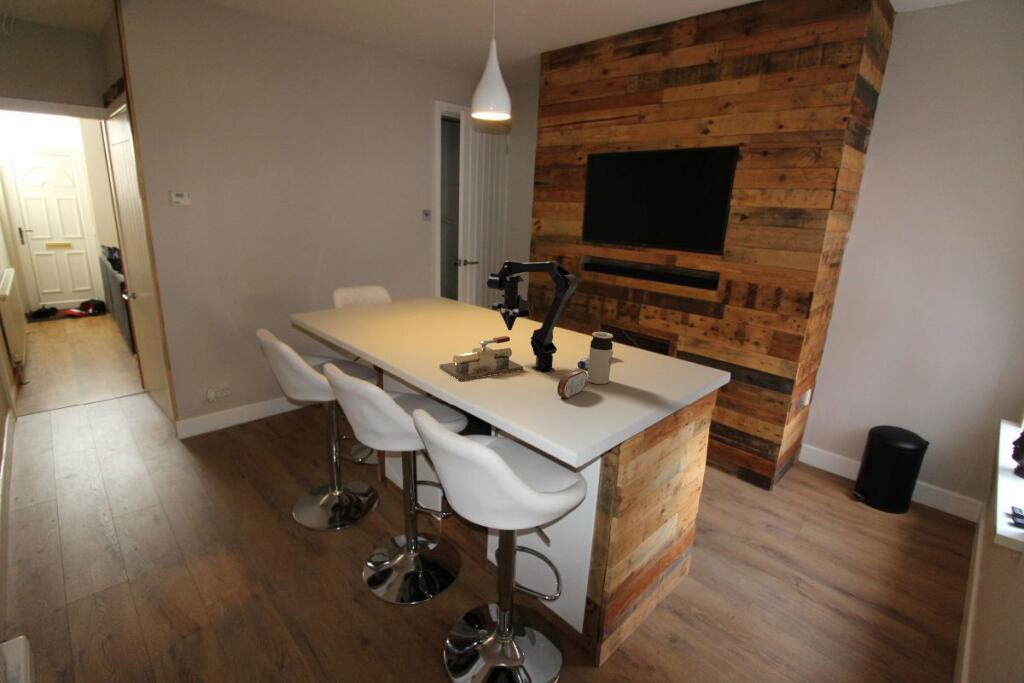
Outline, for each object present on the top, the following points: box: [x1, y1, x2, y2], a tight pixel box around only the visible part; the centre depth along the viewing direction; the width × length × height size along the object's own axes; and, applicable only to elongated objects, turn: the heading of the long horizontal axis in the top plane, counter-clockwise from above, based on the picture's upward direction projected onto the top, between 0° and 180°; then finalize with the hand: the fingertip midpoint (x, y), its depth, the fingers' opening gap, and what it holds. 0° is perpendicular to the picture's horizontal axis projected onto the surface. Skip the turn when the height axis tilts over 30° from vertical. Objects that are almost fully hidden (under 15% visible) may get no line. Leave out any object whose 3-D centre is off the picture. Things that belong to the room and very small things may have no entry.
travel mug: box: [586, 331, 614, 385], centre depth 177 cm, size 8×8×18 cm
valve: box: [439, 345, 524, 382], centre depth 185 cm, size 16×28×10 cm, turn 124°
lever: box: [479, 335, 511, 346], centre depth 186 cm, size 14×3×2 cm, turn 133°
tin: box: [557, 368, 588, 399], centre depth 164 cm, size 15×3×8 cm, turn 141°
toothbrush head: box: [577, 350, 614, 370], centre depth 201 cm, size 5×7×25 cm
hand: (509, 330), depth 196 cm, fingers closed
